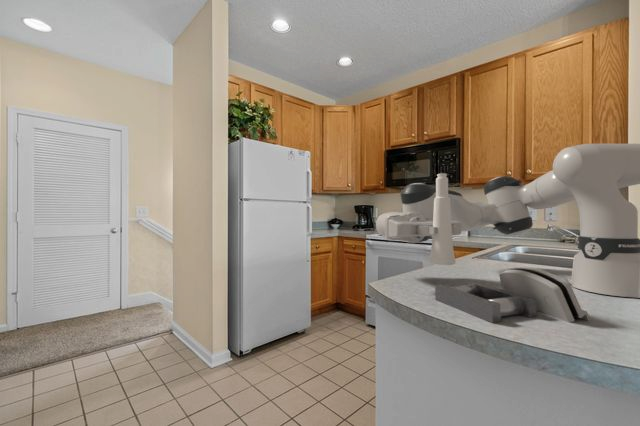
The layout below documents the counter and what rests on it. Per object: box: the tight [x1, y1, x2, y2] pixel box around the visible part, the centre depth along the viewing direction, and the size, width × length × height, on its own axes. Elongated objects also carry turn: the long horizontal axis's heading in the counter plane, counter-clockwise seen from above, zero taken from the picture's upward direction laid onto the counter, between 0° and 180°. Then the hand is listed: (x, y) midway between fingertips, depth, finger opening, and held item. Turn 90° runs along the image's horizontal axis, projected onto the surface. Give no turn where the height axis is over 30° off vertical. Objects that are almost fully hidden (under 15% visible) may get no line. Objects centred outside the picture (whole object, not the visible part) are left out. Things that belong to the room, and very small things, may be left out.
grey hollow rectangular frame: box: [434, 281, 537, 324], centre depth 66 cm, size 12×16×4 cm
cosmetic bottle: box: [429, 173, 457, 266], centre depth 74 cm, size 6×6×22 cm
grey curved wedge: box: [499, 266, 591, 323], centre depth 65 cm, size 17×5×10 cm, turn 8°
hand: (445, 230), depth 73 cm, fingers closed on cosmetic bottle, 4 cm apart
